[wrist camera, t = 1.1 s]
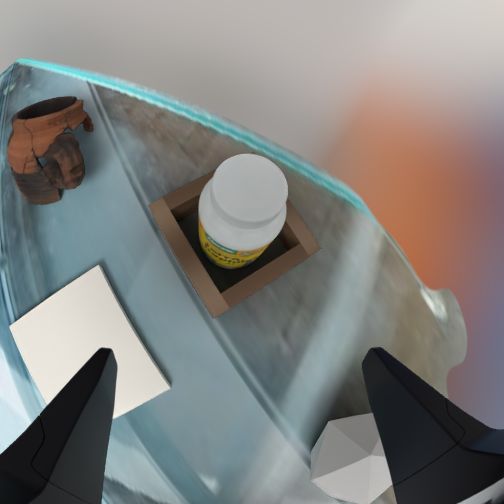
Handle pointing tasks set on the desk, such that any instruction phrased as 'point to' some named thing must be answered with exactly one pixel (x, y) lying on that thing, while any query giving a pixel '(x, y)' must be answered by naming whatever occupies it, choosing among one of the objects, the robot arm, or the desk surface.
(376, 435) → the die
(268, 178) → the supplement bottle
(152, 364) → the off-white coaster
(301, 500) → the desk surface
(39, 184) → the broken brown clay pot
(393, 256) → the desk surface
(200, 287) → the walnut holder
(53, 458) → the robot arm
